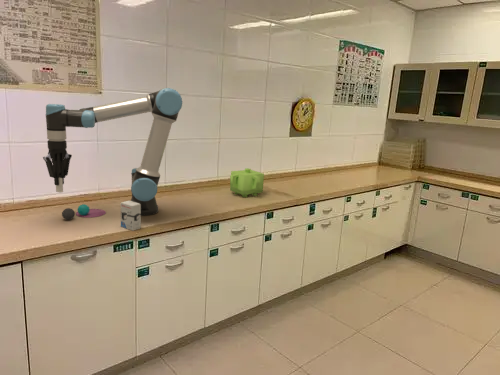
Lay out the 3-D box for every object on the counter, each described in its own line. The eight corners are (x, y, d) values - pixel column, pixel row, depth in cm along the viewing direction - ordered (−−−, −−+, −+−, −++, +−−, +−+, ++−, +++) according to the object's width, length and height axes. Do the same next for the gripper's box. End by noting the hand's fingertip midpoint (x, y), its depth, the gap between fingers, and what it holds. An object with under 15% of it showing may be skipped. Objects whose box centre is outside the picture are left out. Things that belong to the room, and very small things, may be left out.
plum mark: (111, 212, 194) (111, 212, 194) (89, 219, 182) (89, 218, 182) (92, 207, 200) (92, 207, 200) (69, 213, 188) (69, 213, 187)
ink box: (120, 226, 175) (119, 202, 172) (128, 224, 179) (128, 200, 176) (132, 231, 170) (132, 205, 168) (141, 228, 174) (141, 203, 172)
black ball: (65, 217, 174) (73, 222, 179) (71, 207, 177) (79, 212, 181) (57, 215, 176) (65, 220, 181) (63, 205, 179) (71, 210, 183)
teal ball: (84, 218, 184) (93, 213, 188) (81, 208, 182) (90, 203, 186) (76, 216, 186) (85, 211, 191) (73, 206, 184) (82, 201, 188)
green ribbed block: (250, 188, 264) (252, 164, 260) (271, 196, 247) (273, 170, 243) (220, 192, 249) (221, 166, 245) (240, 200, 232) (242, 173, 228)
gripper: (64, 138, 174) (66, 187, 180) (37, 140, 163) (40, 193, 168) (75, 139, 171) (77, 190, 177) (49, 141, 160) (52, 196, 165)
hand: (59, 191), depth 172 cm, fingers closed
